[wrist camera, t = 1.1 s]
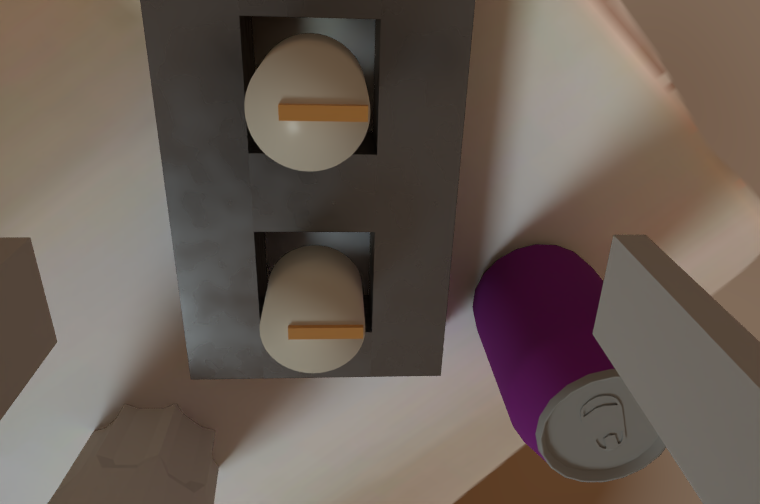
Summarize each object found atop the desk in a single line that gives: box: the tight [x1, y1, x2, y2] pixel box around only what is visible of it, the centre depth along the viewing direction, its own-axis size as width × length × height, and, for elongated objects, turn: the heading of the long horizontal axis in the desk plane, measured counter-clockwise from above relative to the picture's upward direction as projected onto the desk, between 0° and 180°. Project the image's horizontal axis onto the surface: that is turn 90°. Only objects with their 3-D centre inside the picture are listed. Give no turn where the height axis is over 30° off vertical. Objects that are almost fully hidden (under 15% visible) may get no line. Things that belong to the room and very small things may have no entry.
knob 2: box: [260, 245, 365, 373], centre depth 29 cm, size 5×5×4 cm
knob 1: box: [244, 33, 370, 172], centre depth 25 cm, size 5×5×4 cm
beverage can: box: [473, 244, 666, 482], centre depth 32 cm, size 8×8×12 cm
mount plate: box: [140, 0, 475, 379], centre depth 31 cm, size 14×22×4 cm, turn 178°
